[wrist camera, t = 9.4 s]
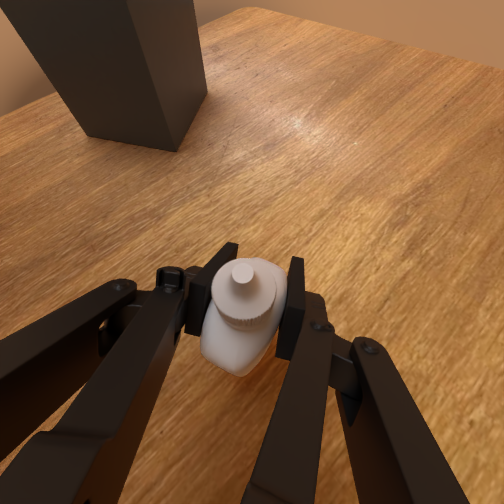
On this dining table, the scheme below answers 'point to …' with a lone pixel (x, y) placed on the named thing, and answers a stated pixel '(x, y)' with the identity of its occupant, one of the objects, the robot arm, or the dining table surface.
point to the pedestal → (119, 64)
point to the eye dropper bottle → (243, 314)
